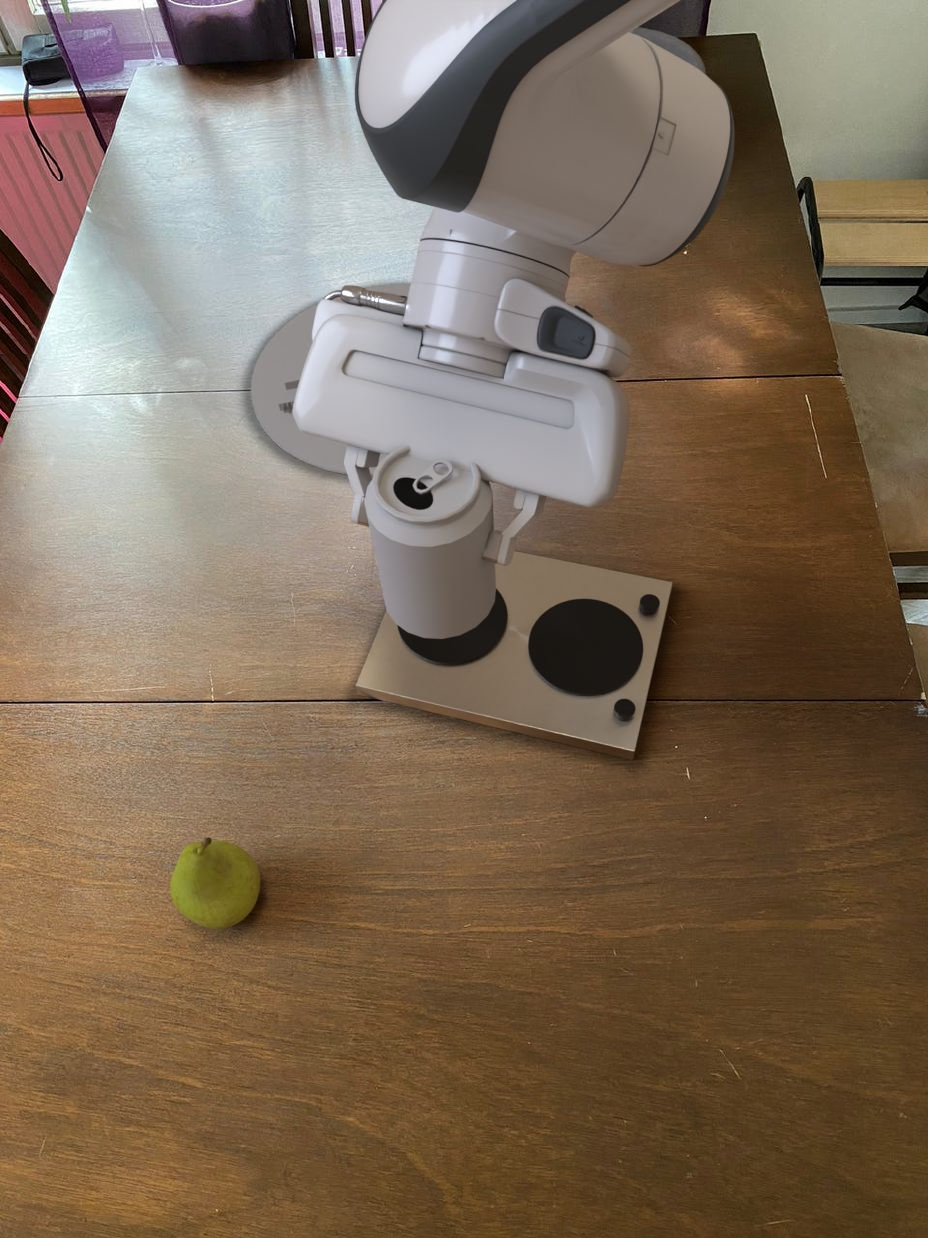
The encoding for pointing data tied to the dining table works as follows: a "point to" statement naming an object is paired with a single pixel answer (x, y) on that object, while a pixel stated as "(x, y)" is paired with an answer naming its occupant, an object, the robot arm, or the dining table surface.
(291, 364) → the plate
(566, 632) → the hob
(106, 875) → the dining table surface
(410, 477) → the can
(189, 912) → the fruit
